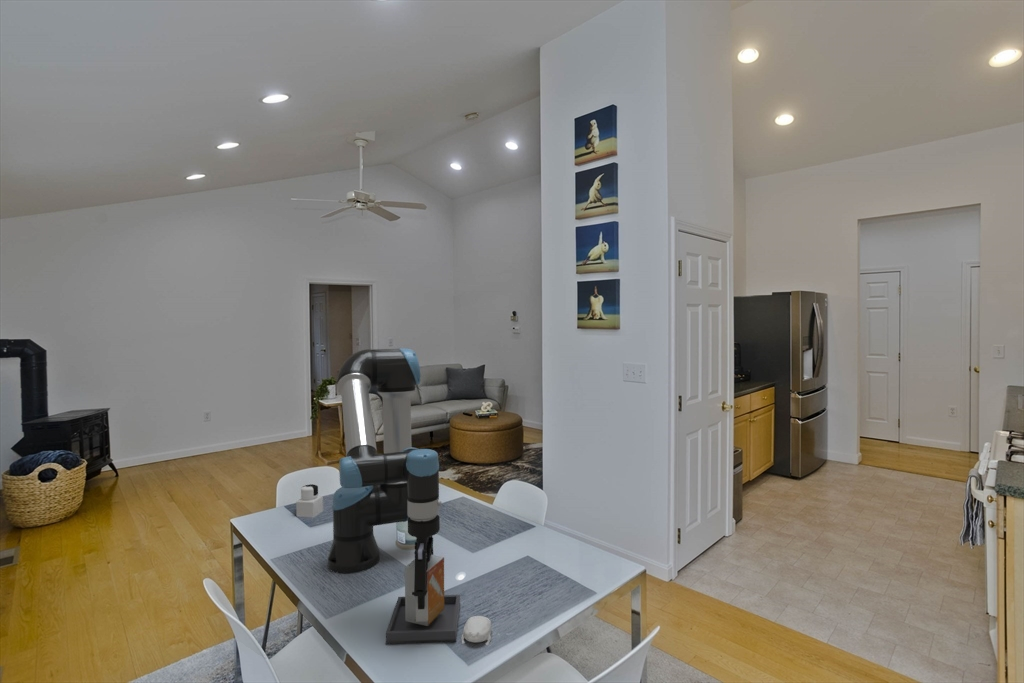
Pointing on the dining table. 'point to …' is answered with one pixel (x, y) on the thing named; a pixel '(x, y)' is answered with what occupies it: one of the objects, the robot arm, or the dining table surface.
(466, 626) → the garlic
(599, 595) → the dining table surface
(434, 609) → the small box
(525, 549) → the dining table surface
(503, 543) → the dining table surface
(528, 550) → the dining table surface
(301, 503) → the medicine bottle
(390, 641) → the holder
